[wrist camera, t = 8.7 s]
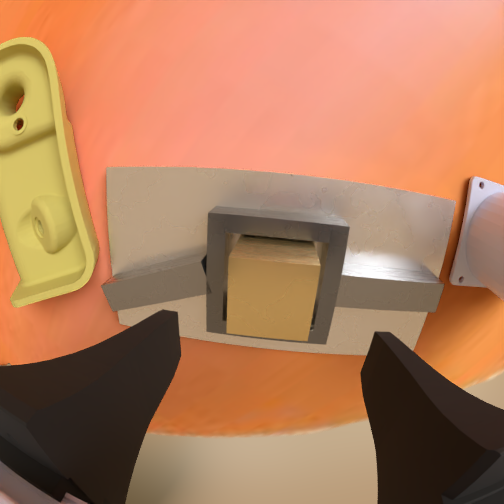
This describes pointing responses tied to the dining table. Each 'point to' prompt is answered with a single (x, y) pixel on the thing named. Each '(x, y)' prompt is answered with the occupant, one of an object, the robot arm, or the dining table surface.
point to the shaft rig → (281, 226)
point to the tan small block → (272, 287)
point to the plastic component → (41, 178)
